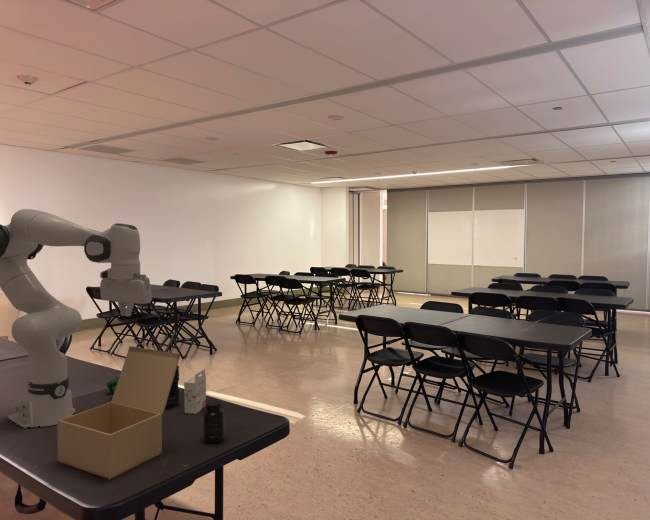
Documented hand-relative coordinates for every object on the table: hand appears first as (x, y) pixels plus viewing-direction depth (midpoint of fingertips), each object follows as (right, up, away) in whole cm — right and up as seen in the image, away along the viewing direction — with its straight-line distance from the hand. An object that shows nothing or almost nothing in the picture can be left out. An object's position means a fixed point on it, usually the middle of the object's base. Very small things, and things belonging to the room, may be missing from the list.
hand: (126, 315), depth 153 cm
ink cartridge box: (+16, -39, +25) cm, 48 cm away
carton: (+2, -40, -16) cm, 43 cm away
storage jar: (+3, -38, +29) cm, 48 cm away
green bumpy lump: (-20, -38, +41) cm, 59 cm away
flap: (+8, -19, -5) cm, 21 cm away
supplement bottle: (+29, -40, -2) cm, 49 cm away
